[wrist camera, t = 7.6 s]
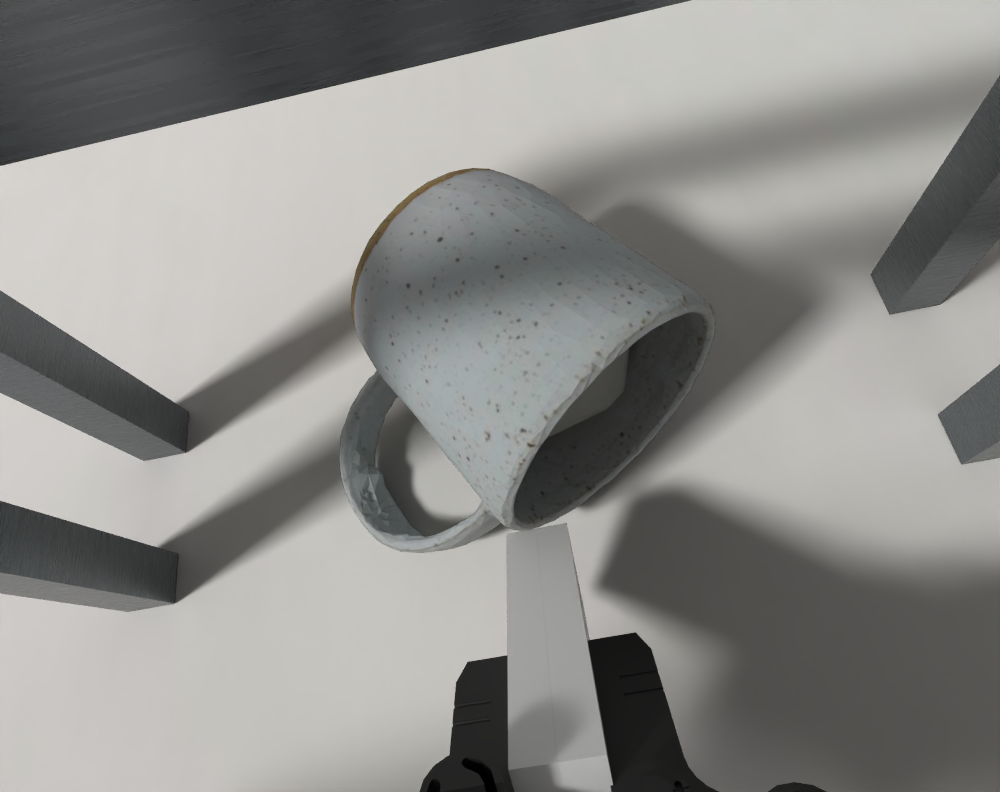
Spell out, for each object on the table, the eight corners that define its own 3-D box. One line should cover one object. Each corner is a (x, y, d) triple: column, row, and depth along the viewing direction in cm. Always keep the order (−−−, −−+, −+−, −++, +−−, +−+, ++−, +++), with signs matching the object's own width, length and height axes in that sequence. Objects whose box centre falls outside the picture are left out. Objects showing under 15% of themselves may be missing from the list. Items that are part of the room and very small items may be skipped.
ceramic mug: (530, 255, 24) (494, 81, 17) (704, 393, 20) (749, 251, 13) (309, 447, 22) (168, 344, 15) (460, 632, 19) (368, 608, 12)
